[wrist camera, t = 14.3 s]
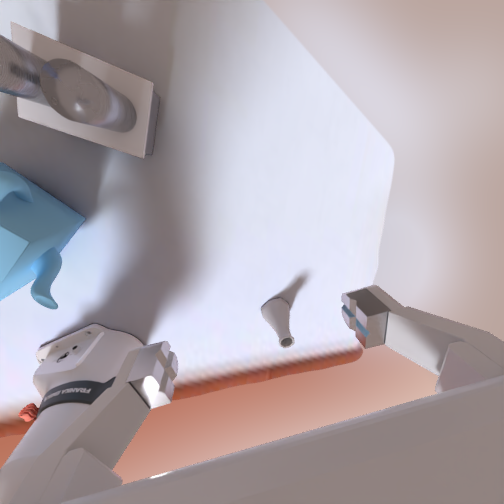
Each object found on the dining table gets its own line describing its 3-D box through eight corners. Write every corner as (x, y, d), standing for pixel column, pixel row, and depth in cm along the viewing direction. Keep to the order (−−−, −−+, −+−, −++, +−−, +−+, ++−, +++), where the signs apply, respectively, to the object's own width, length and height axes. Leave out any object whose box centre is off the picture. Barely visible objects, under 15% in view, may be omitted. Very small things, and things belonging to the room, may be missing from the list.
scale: (53, 124, 29) (18, 117, 24) (51, 48, 26) (10, 21, 21) (154, 158, 33) (142, 158, 28) (164, 95, 30) (152, 82, 25)
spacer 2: (110, 136, 26) (62, 128, 18) (89, 95, 24) (26, 65, 16) (142, 127, 26) (110, 115, 18) (125, 86, 24) (80, 52, 16)
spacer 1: (44, 112, 24) (-44, 88, 16) (19, 66, 22) (-96, 13, 14) (81, 104, 24) (11, 77, 16) (58, 58, 23) (-33, 0, 14)
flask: (293, 312, 51) (309, 344, 42) (268, 325, 51) (278, 360, 42) (282, 292, 48) (296, 323, 39) (255, 306, 48) (263, 339, 39)
